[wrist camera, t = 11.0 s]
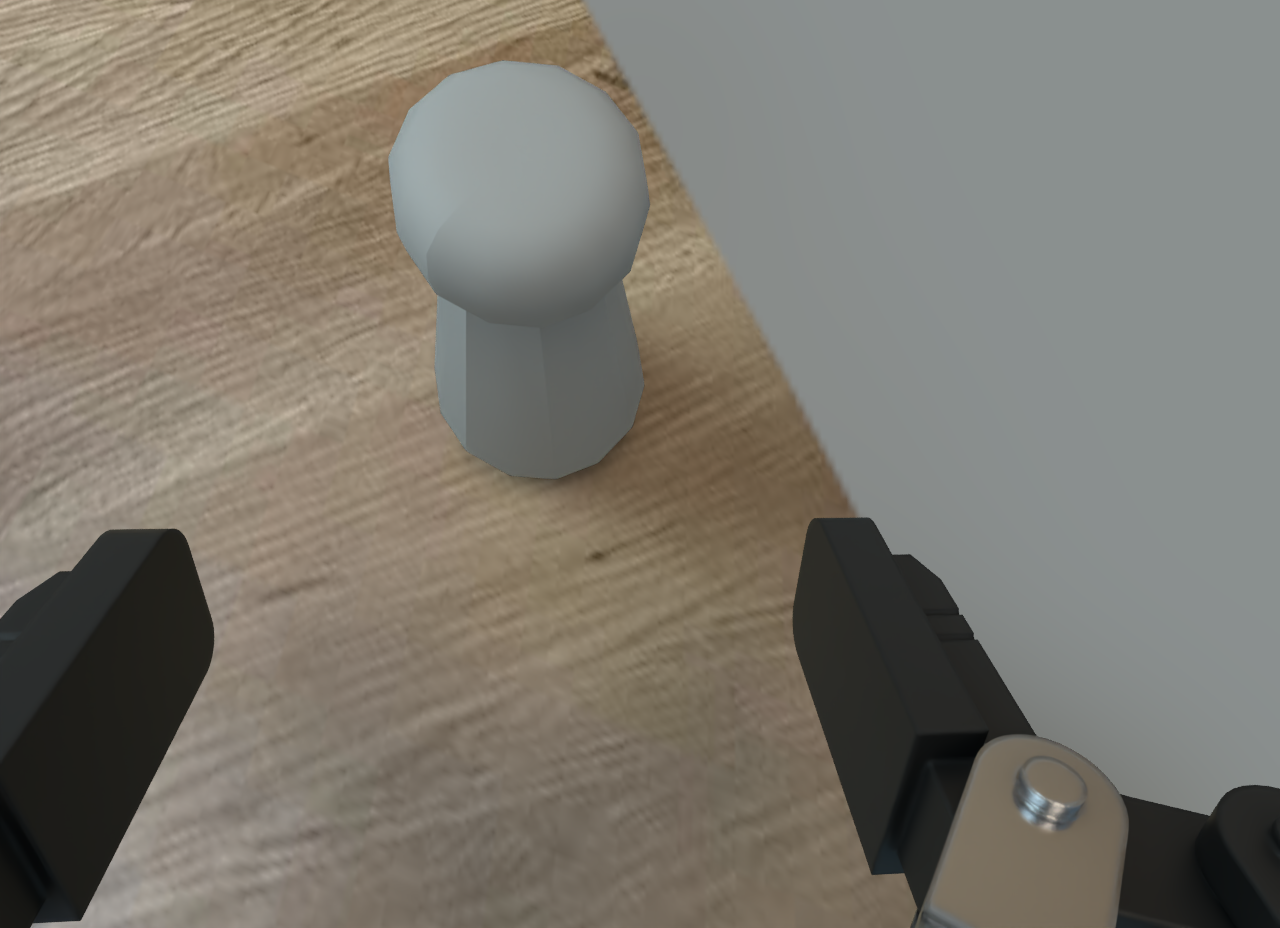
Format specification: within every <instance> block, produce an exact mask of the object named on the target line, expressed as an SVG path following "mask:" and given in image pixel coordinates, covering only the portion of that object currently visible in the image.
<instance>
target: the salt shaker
mask: <svg viewBox="0 0 1280 928" xmlns="http://www.w3.org/2000/svg"><path fill="white" fill-rule="evenodd" d="M389 171H390V183H391V191H392V198H393V206H394V214H395V222H396V230H397V233H398V235H399V237H400V239H401V241H402V243H403V245H404V247H405V249H406V251H407V252H408V254H409V255H410V257H411V258H412V260H413V261H414V262H415V264H416V265H417V267H418V268H419V270H420V271H421V273H422V274H423V276H424V277H425V279H426V280H427V282H428V283H429V284H430V286H431V287H432V289H433V290H434V292H435V293H436V295H438V299H437V323H436V347H435V374H436V382H437V389H438V397H439V404H440V411H441V414H442V415H443V417H444V418H445V420H446V421H447V423H448V424H449V426H450V427H451V429H452V430H453V432H454V433H455V435H456V436H457V438H458V439H459V441H460V442H461V444H462V445H463V447H464V448H465V450H466V451H467V452H469V453H470V454H472V455H474V456H476V457H477V458H479V459H481V460H483V461H485V462H486V463H488V464H490V465H492V466H494V467H495V468H497V469H499V470H501V471H502V472H504V473H506V474H508V475H510V476H518V477H532V478H546V479H558V478H560V477H563V476H566V475H568V474H571V473H574V472H576V471H579V470H581V469H584V468H587V467H589V466H592V465H594V464H597V463H599V462H600V461H601V459H602V458H603V457H604V456H605V455H606V454H607V453H608V452H609V451H610V450H611V449H612V448H613V447H614V446H615V445H616V444H617V443H618V442H619V441H620V440H621V439H622V437H623V436H624V435H625V434H626V433H627V432H628V431H629V430H630V429H631V428H632V426H633V423H634V419H635V416H636V412H637V409H638V406H639V402H640V399H641V395H642V392H643V388H644V379H643V373H642V367H641V361H640V355H639V349H638V343H637V338H636V334H635V330H634V326H633V322H632V318H631V314H630V310H629V306H628V302H627V298H626V294H625V289H624V285H623V281H622V279H623V278H624V277H625V276H626V275H627V274H628V273H629V272H630V271H631V267H632V264H633V261H634V258H635V254H636V251H637V248H638V244H639V241H640V238H641V235H642V231H643V228H644V225H645V221H646V218H647V214H648V210H649V207H650V201H649V194H648V186H647V180H646V174H645V168H644V163H643V157H642V152H641V146H640V140H639V135H638V132H637V131H636V129H635V128H634V127H633V126H632V124H631V123H630V122H629V121H628V119H627V118H626V117H625V116H624V114H623V113H622V112H621V111H620V109H619V108H618V107H617V106H616V104H615V103H614V102H613V100H612V99H611V98H610V97H609V95H608V94H607V93H606V92H605V91H603V90H601V89H599V88H598V87H596V86H594V85H592V84H590V83H589V82H587V81H585V80H583V79H581V78H579V77H578V76H576V75H574V74H572V73H570V72H569V71H567V70H565V69H563V68H561V67H560V66H556V65H545V64H535V63H525V62H514V61H504V60H502V61H499V62H495V63H491V64H488V65H484V66H481V67H477V68H473V69H470V70H466V71H462V72H459V73H455V74H452V75H449V76H448V77H447V78H445V79H444V80H443V81H442V82H441V83H440V84H439V85H437V86H436V87H435V88H434V89H433V90H432V91H430V92H429V93H428V94H427V95H426V96H425V97H423V98H422V99H421V100H420V101H419V102H418V103H416V104H415V105H414V106H413V107H412V108H411V109H409V111H408V114H407V116H406V118H405V120H404V123H403V125H402V127H401V130H400V132H399V134H398V136H397V139H396V141H395V143H394V146H393V148H392V150H391V153H390V155H389Z"/></svg>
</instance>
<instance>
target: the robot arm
mask: <svg viewBox="0 0 1280 928" xmlns="http://www.w3.org/2000/svg"><path fill="white" fill-rule="evenodd" d="M793 634H794V641H795V647H796V651H797V654H798V657H799V660H800V663H801V666H802V669H803V672H804V675H805V678H806V681H807V684H808V687H809V690H810V693H811V696H812V699H813V702H814V705H815V708H816V711H817V714H818V717H819V719H820V722H821V725H822V728H823V731H824V734H825V737H826V740H827V743H828V746H829V749H830V752H831V755H832V758H833V761H834V764H835V767H836V770H837V773H838V776H839V779H840V782H841V785H842V788H843V791H844V794H845V797H846V800H847V803H848V806H849V809H850V812H851V815H852V818H853V820H854V823H855V826H856V829H857V832H858V835H859V838H860V841H861V844H862V847H863V850H864V853H865V856H866V859H867V862H868V865H869V868H870V871H871V874H872V875H879V874H898V873H905V876H906V879H907V881H908V884H909V887H910V889H911V892H912V895H913V897H914V900H915V903H916V905H917V910H916V912H915V915H914V918H913V921H912V924H911V926H910V928H1280V789H1279V788H1274V787H1269V786H1260V785H1249V786H1241V787H1238V788H1234V789H1232V790H1231V791H1229V792H1227V793H1226V794H1225V795H1224V796H1223V797H1222V798H1221V800H1220V801H1219V803H1218V804H1217V806H1216V807H1215V809H1214V810H1213V812H1212V814H1211V815H1210V816H1208V815H1204V814H1199V813H1196V812H1191V811H1187V810H1183V809H1179V808H1174V807H1170V806H1166V805H1162V804H1158V803H1153V802H1149V801H1145V800H1140V799H1136V798H1132V797H1128V796H1125V795H1122V794H1119V792H1118V791H1117V789H1116V787H1115V786H1114V785H1113V783H1112V782H1111V781H1110V780H1109V779H1108V777H1107V776H1106V775H1105V774H1104V773H1103V772H1102V771H1101V770H1100V769H1099V768H1098V767H1096V766H1095V765H1094V764H1093V763H1091V762H1090V761H1089V760H1088V759H1086V758H1085V757H1083V756H1082V755H1080V754H1079V753H1077V752H1075V751H1074V750H1072V749H1070V748H1068V747H1066V746H1064V745H1062V744H1060V743H1057V742H1054V741H1052V740H1049V739H1046V738H1042V737H1038V736H1036V734H1035V733H1034V731H1033V729H1032V728H1031V726H1030V724H1029V723H1028V721H1027V719H1026V718H1025V716H1024V715H1023V713H1022V711H1021V710H1020V708H1019V706H1018V705H1017V703H1016V702H1015V700H1014V699H1013V697H1012V695H1011V693H1010V692H1009V690H1008V689H1007V687H1006V685H1005V684H1004V682H1003V680H1002V679H1001V677H1000V675H999V674H998V672H997V670H996V669H995V667H994V666H993V664H992V662H991V661H990V659H989V657H988V656H987V654H986V652H985V651H984V649H983V648H982V646H981V644H980V643H979V641H978V640H974V637H973V635H974V633H973V631H972V630H971V628H970V626H969V625H968V623H967V621H966V620H965V618H964V616H963V615H959V608H958V607H957V605H956V603H955V602H954V600H953V598H952V597H951V595H950V594H949V592H948V590H947V589H946V587H945V585H944V584H943V582H942V580H941V579H940V578H938V577H937V576H936V575H935V574H933V573H932V572H931V571H930V570H929V569H927V568H926V567H925V566H924V565H922V564H921V563H920V562H919V561H918V560H916V559H915V558H914V557H913V556H911V555H910V554H908V555H892V554H891V552H890V550H889V548H888V546H887V545H886V543H885V541H884V539H883V537H882V536H881V534H880V532H879V530H878V528H877V527H876V525H875V523H874V522H873V521H872V520H871V519H870V518H814V519H812V521H811V522H810V524H809V526H808V530H807V534H806V539H805V545H804V550H803V556H802V561H801V567H800V572H799V578H798V583H797V589H796V594H795V600H794V606H793ZM213 648H214V627H213V622H212V618H211V615H210V611H209V608H208V605H207V602H206V599H205V596H204V592H203V589H202V586H201V583H200V580H199V577H198V573H197V570H196V567H195V564H194V561H193V558H192V554H191V551H190V548H189V545H188V542H187V540H186V538H185V536H184V535H183V534H182V533H181V532H180V531H179V530H177V529H123V530H109V531H106V532H105V533H103V534H102V535H101V536H100V537H99V538H98V539H97V540H96V542H95V543H94V544H93V545H92V546H91V548H90V549H89V550H88V551H87V553H86V554H85V555H84V556H83V558H82V559H81V560H80V561H79V562H78V564H77V565H76V566H75V567H74V569H73V570H72V571H62V572H58V573H57V574H55V575H54V576H52V577H51V578H49V579H48V580H46V581H45V582H43V583H42V584H40V585H39V586H37V587H36V588H34V589H33V590H31V591H30V592H28V593H27V594H25V595H24V596H22V597H21V598H20V599H18V600H17V601H16V602H15V603H14V604H13V605H12V606H11V607H10V608H9V610H8V611H7V612H6V613H5V614H4V615H3V617H2V618H1V619H0V928H30V927H31V925H32V923H46V922H65V921H81V919H82V917H83V915H84V913H85V911H86V909H87V907H88V905H89V903H90V901H91V900H92V898H93V896H94V894H95V892H96V890H97V888H98V886H99V884H100V882H101V880H102V878H103V876H104V874H105V872H106V870H107V868H108V866H109V864H110V862H111V860H112V858H113V856H114V854H115V852H116V850H117V848H118V846H119V844H120V842H121V840H122V839H123V837H124V835H125V833H126V831H127V829H128V827H129V825H130V823H131V821H132V819H133V817H134V815H135V813H136V811H137V809H138V807H139V805H140V803H141V801H142V799H143V797H144V795H145V793H146V791H147V789H148V787H149V785H150V783H151V781H152V779H153V778H154V776H155V774H156V772H157V770H158V768H159V766H160V764H161V762H162V760H163V758H164V756H165V754H166V752H167V750H168V748H169V746H170V744H171V742H172V740H173V738H174V736H175V734H176V732H177V730H178V728H179V726H180V724H181V722H182V720H183V718H184V716H185V715H186V713H187V711H188V709H189V707H190V705H191V703H192V701H193V699H194V697H195V695H196V693H197V691H198V689H199V687H200V685H201V683H202V681H203V679H204V677H205V675H206V673H207V671H208V669H209V666H210V663H211V659H212V655H213Z"/></svg>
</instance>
